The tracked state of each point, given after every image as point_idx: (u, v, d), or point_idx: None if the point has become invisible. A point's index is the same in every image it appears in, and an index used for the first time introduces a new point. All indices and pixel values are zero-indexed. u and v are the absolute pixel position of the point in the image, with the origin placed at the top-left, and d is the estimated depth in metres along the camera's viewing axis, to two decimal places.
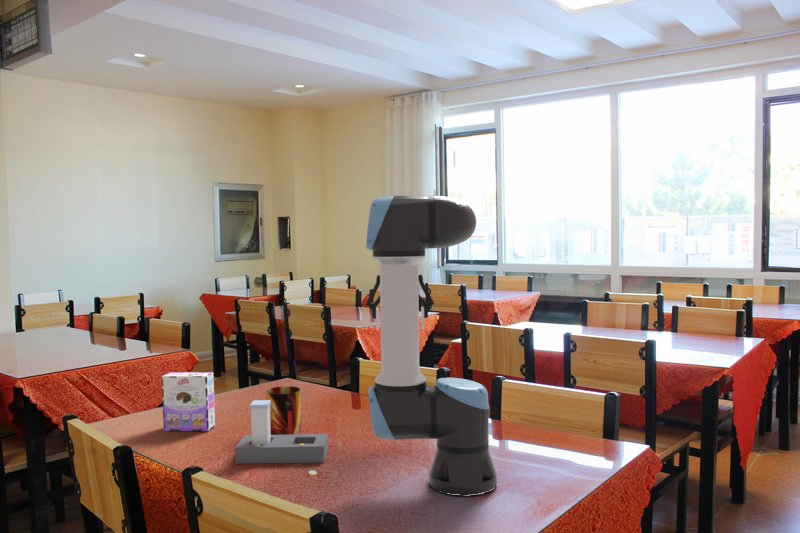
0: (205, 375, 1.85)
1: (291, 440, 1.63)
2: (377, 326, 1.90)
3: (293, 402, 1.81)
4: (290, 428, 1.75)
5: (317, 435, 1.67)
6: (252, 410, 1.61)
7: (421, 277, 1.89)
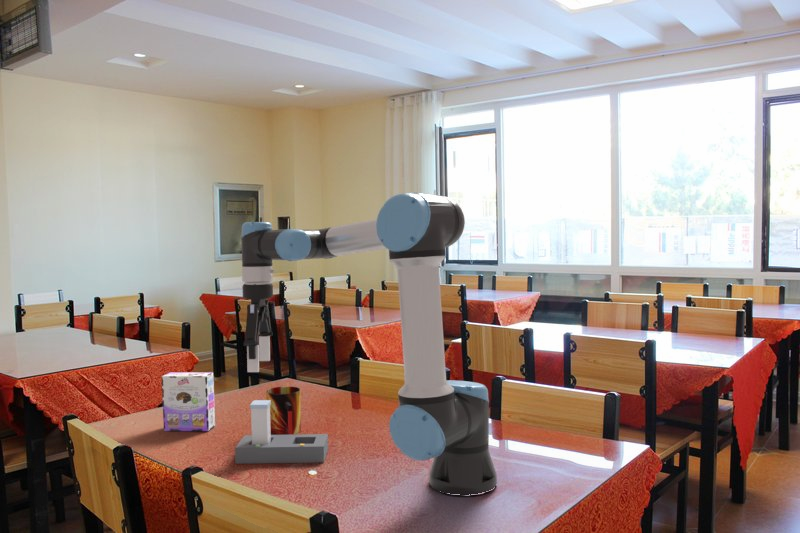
0: (205, 375, 1.85)
1: (291, 440, 1.63)
2: None
3: (294, 402, 1.81)
4: (290, 428, 1.75)
5: (317, 435, 1.67)
6: (252, 410, 1.61)
7: (247, 308, 1.55)
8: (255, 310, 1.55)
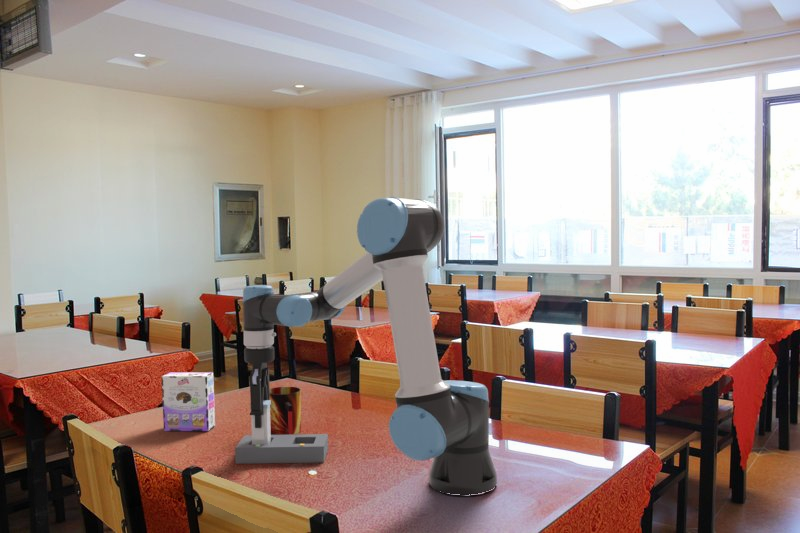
0: (205, 375, 1.85)
1: (291, 440, 1.63)
2: None
3: (294, 402, 1.81)
4: (290, 429, 1.75)
5: (317, 435, 1.67)
6: None
7: None
8: (257, 382, 1.56)
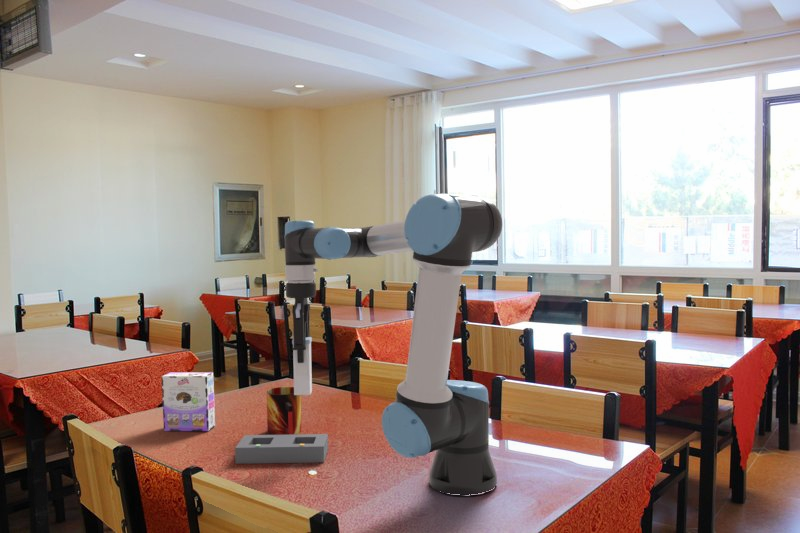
0: (205, 375, 1.85)
1: (291, 440, 1.63)
2: None
3: (294, 402, 1.80)
4: (291, 429, 1.75)
5: (317, 435, 1.67)
6: None
7: None
8: (301, 316, 1.55)
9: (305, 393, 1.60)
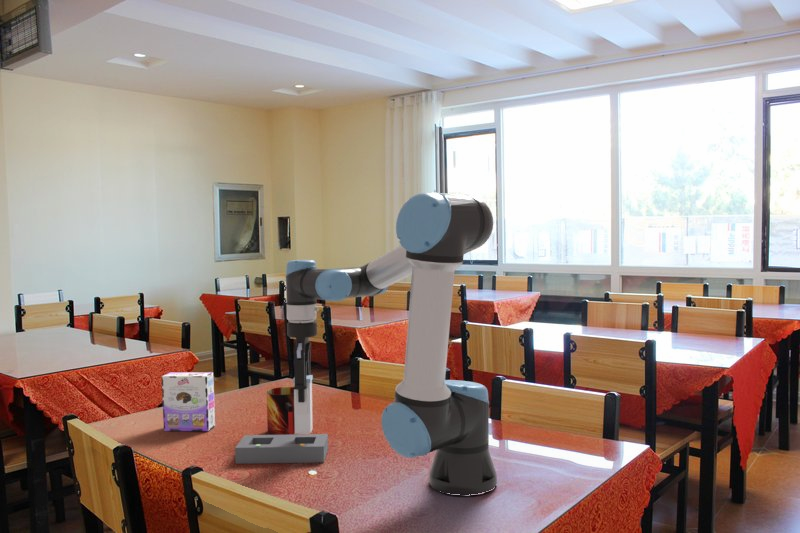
0: (205, 375, 1.85)
1: (291, 440, 1.63)
2: None
3: None
4: (291, 429, 1.74)
5: (317, 435, 1.67)
6: None
7: None
8: (302, 356, 1.56)
9: (306, 432, 1.61)
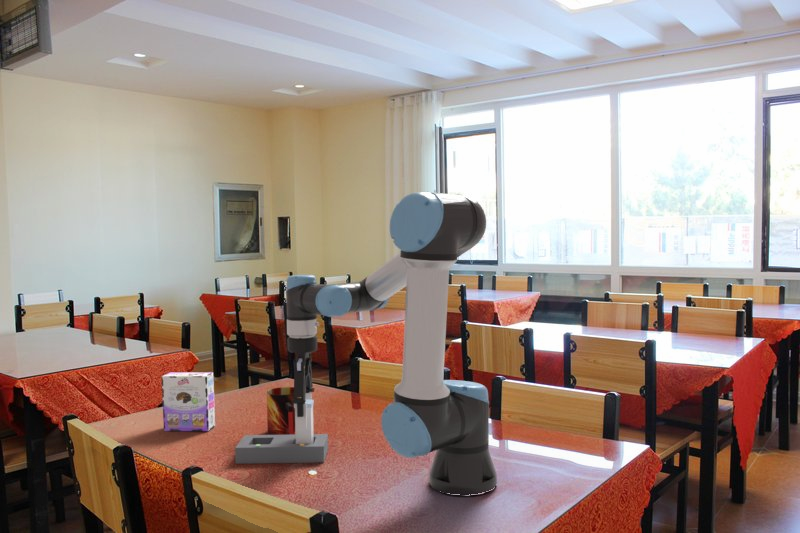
0: (205, 375, 1.85)
1: (291, 440, 1.63)
2: None
3: None
4: (291, 429, 1.74)
5: (317, 435, 1.67)
6: None
7: (294, 366, 1.56)
8: (302, 368, 1.55)
9: None
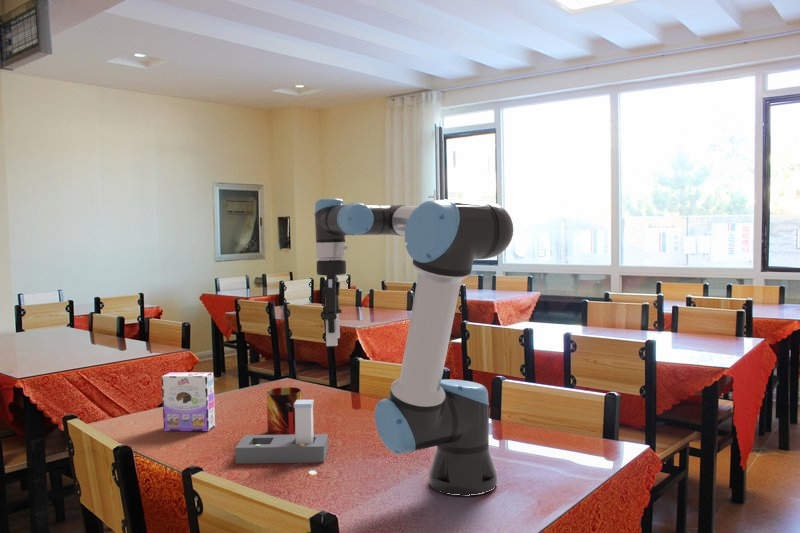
0: (205, 375, 1.85)
1: (291, 440, 1.63)
2: None
3: None
4: (291, 429, 1.74)
5: (317, 435, 1.67)
6: (296, 409, 1.61)
7: (325, 282, 1.57)
8: (333, 284, 1.57)
9: None
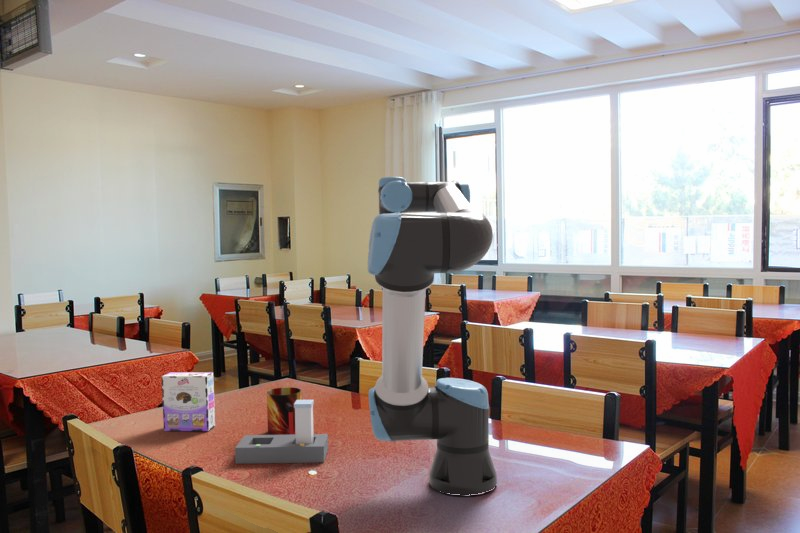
0: (205, 375, 1.85)
1: (291, 440, 1.63)
2: None
3: None
4: (291, 429, 1.74)
5: (317, 435, 1.67)
6: (296, 409, 1.61)
7: None
8: None
9: None
